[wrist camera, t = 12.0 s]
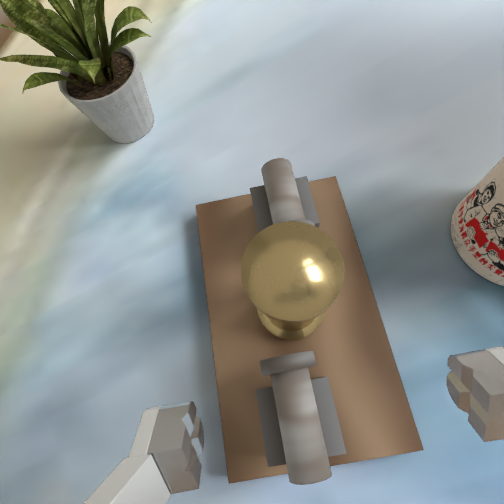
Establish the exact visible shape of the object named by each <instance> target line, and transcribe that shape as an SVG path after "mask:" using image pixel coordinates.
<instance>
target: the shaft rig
mask: <svg viewBox="0 0 504 504" xmlns="http://www.w3.org/2000/svg"><path fill="white" fill-rule="evenodd" d="M262 176H263V180H264V185H263V186H258V187H253V188H250V192H251V194H247V195H243V196H238V197H233V198H228V199H223V200H218V201H214V202H209V203H204V204H199V205H196V212H197V220H198V228H199V237H200V245H201V254H202V262H203V270H204V279H205V287H206V296H207V304H208V312H209V321H210V329H211V338H212V346H213V354H214V363H215V371H216V380H217V388H218V396H219V405H220V413H221V422H222V430H223V438H224V447H225V455H226V464H227V472H228V480H229V483H235V482H241V481H247V480H252V479H258V478H264V477H270V476H276V475H282V474H287V473H288V475H289V481H290V482H291V483H293V484H299V485H304V484H313V483H317V482H321V481H324V480H326V479H328V478H329V477H330V476H331V475H332V473H331V468H330V466H334V465H340V464H346V463H351V462H357V461H363V460H369V459H375V458H380V457H386V456H392V455H398V454H404V453H409V452H415V451H421V450H423V446H422V443H421V440H420V437H419V434H418V431H417V428H416V425H415V422H414V419H413V415H412V412H411V409H410V406H409V403H408V400H407V397H406V394H405V391H404V387H403V384H402V381H401V378H400V375H399V372H398V369H397V366H396V363H395V359H394V356H393V353H392V350H391V347H390V344H389V341H388V338H387V335H386V332H385V328H384V325H383V322H382V319H381V316H380V313H379V310H378V307H377V304H376V300H375V297H374V294H373V291H372V288H371V285H370V282H369V279H368V276H367V272H366V269H365V266H364V263H363V260H362V257H361V254H360V251H359V248H358V244H357V241H356V238H355V235H354V232H353V229H352V226H351V223H350V220H349V217H348V213H347V210H346V207H345V204H344V201H343V198H342V195H341V192H340V189H339V185H338V182H337V179H336V176H334V177H329V178H325V179H320V180H315V181H310V182H308V179H307V176H306V177H301V178H296V179H295V178H294V174H293V170H292V166H291V163H290V161H289V160H287V159H283V158H278V159H273V160H271V161H269V162H267V163H266V164H265V165H264V166H263V167H262ZM287 221H297V222H304V223H308V224H311V225H313V226H316V227H318V228H320V229H321V230H323V231H324V232H325V233H327V234H328V235H329V236H330V237H331V238H332V239H333V240H334V241H335V243H336V244H337V246H338V248H339V249H340V251H341V254H342V257H343V260H344V266H345V276H344V282H343V285H342V288H341V290H340V292H339V294H338V296H337V298H336V299H335V301H334V302H333V304H332V305H331V306H330V307H329V308H328V309H327V310H326V312H325V316H324V318H323V320H322V322H321V324H320V326H319V327H318V328H317V330H316V331H315V332H314V333H312V334H311V335H309V336H308V337H306V338H303V339H300V340H284V339H281V338H278V337H276V336H274V335H273V334H271V333H270V332H269V331H268V330H267V329H266V328H265V326H264V325H263V323H262V322H261V320H260V318H259V315H258V311H257V308H256V307H255V306H254V304H253V303H252V302H251V300H250V298H249V297H248V295H247V293H246V291H245V289H244V286H243V283H242V279H241V261H242V257H243V254H244V252H245V249H246V247H247V246H248V244H249V243H250V241H251V240H252V239H253V238H254V237H255V236H256V235H257V234H258V233H259V232H261V231H262V230H263V229H265V228H267V227H269V226H271V225H274V224H277V223H281V222H287Z"/></svg>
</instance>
